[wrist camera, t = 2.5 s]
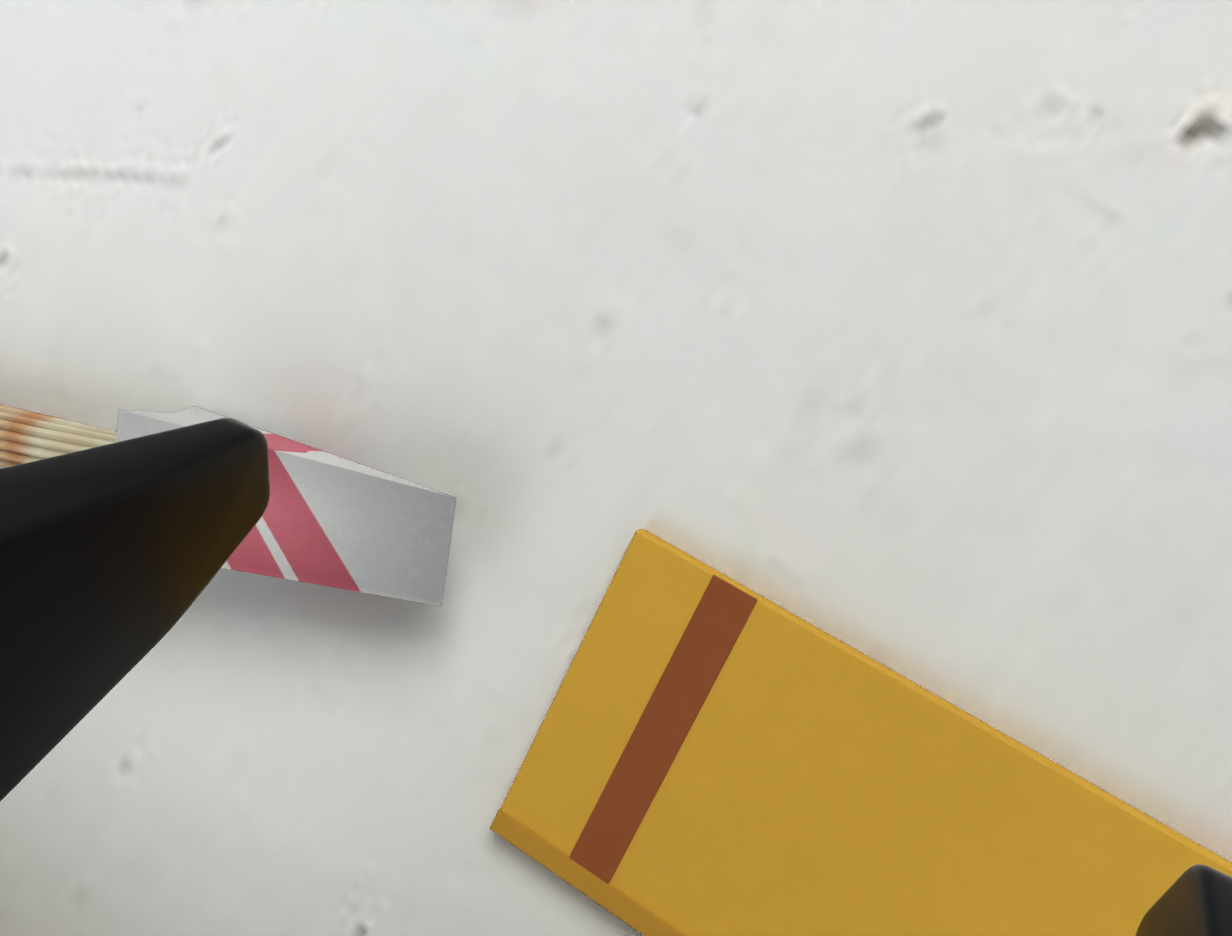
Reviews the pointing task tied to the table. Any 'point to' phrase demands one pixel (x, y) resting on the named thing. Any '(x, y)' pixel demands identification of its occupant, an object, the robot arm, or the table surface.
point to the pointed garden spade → (293, 507)
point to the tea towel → (807, 786)
